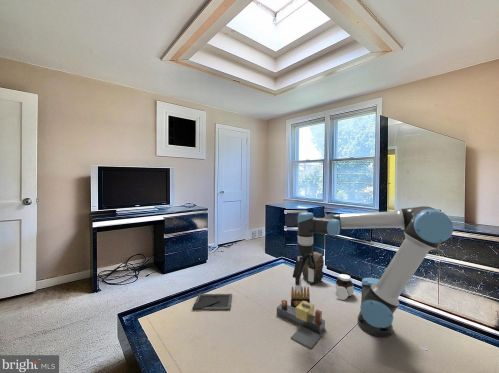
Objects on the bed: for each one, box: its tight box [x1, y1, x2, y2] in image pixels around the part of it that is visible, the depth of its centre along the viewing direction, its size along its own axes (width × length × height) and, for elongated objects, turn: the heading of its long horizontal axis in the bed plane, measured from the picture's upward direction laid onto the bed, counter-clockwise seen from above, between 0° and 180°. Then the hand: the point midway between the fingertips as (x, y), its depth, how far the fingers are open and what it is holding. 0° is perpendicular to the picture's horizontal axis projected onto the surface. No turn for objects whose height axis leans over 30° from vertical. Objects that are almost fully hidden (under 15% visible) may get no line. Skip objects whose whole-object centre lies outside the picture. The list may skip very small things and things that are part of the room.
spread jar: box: [335, 273, 355, 301], centre depth 140 cm, size 12×11×12 cm
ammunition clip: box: [290, 285, 311, 308], centre depth 128 cm, size 11×2×12 cm, turn 89°
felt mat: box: [290, 326, 322, 350], centre depth 103 cm, size 10×10×1 cm
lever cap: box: [296, 301, 315, 322], centre depth 113 cm, size 6×8×6 cm
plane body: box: [276, 299, 326, 335], centre depth 115 cm, size 24×6×9 cm, turn 49°
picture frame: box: [192, 293, 233, 311], centre depth 133 cm, size 16×2×21 cm
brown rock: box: [302, 251, 325, 286], centre depth 162 cm, size 13×13×20 cm
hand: (304, 286), depth 113 cm, fingers open, 13 cm apart
